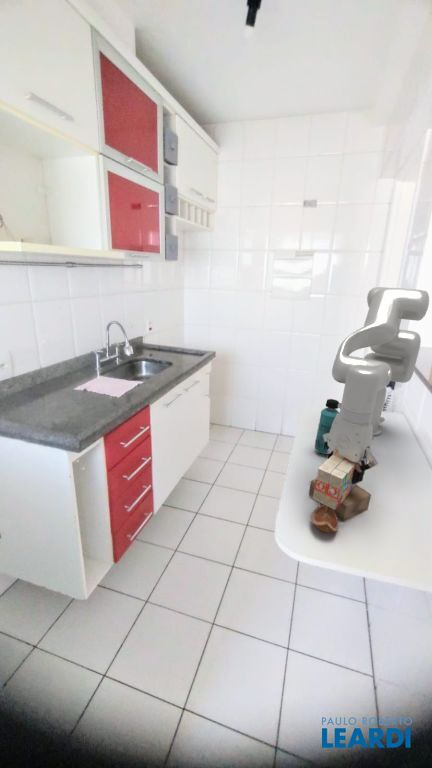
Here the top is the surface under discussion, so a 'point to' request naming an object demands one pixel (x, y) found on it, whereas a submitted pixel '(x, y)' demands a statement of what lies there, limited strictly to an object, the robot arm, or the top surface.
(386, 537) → the top surface
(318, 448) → the beverage bottle
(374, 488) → the top surface
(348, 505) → the walnut base brick
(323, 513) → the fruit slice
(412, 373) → the robot arm
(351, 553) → the top surface
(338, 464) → the stack of blocks
